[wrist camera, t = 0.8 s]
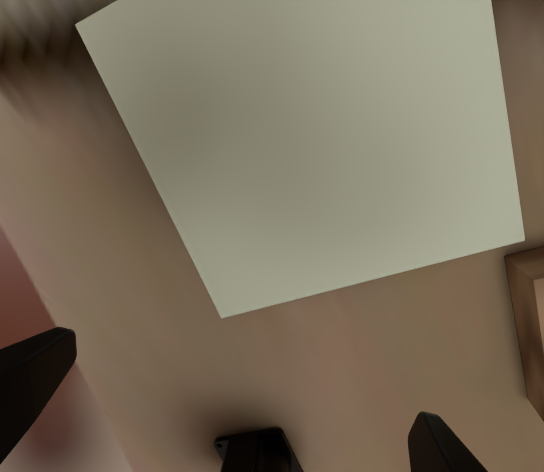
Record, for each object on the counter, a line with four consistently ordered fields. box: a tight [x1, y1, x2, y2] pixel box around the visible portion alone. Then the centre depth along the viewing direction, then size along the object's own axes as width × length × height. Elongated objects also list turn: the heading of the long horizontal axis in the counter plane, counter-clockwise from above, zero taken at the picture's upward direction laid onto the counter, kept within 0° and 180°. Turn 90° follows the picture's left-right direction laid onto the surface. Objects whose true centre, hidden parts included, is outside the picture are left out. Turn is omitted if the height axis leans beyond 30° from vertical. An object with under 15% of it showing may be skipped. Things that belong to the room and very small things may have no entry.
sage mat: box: [75, 0, 525, 318], centre depth 19 cm, size 20×20×1 cm
